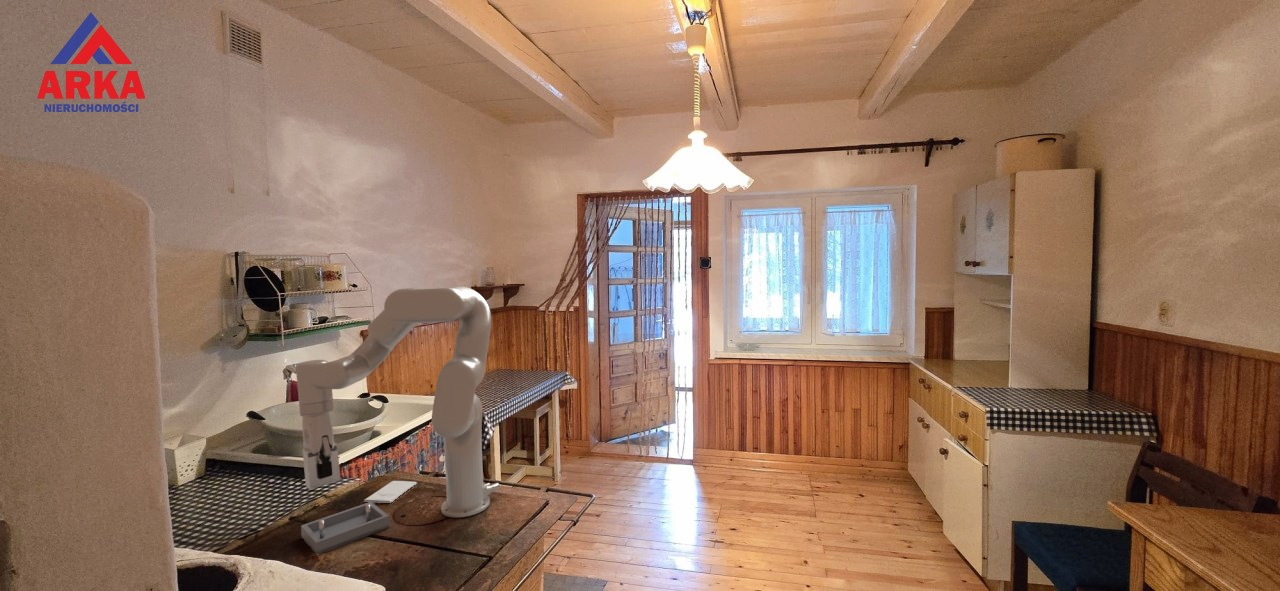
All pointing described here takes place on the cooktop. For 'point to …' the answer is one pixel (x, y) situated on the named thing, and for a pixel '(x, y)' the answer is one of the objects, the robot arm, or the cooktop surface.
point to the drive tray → (344, 527)
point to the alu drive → (311, 468)
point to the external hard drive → (390, 492)
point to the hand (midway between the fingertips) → (322, 474)
